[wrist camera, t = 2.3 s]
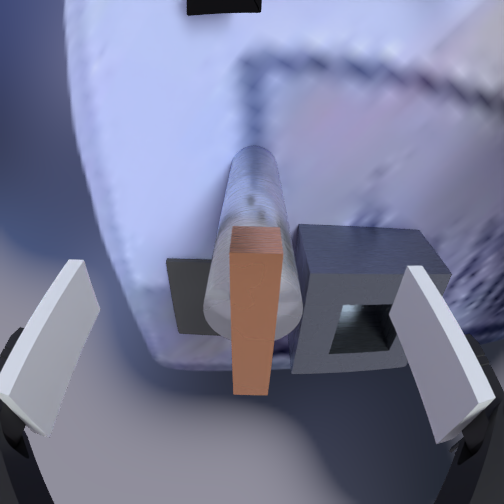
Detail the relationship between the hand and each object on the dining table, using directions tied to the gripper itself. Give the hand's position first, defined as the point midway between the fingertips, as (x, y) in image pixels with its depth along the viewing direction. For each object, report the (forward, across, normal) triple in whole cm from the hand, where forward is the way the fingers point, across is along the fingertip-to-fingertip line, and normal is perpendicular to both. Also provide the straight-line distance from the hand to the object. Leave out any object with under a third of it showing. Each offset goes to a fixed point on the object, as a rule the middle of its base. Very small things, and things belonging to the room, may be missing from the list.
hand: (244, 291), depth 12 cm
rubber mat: (+15, +2, +14) cm, 21 cm away
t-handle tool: (+15, -1, 0) cm, 15 cm away
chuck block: (+15, -11, +11) cm, 21 cm away
